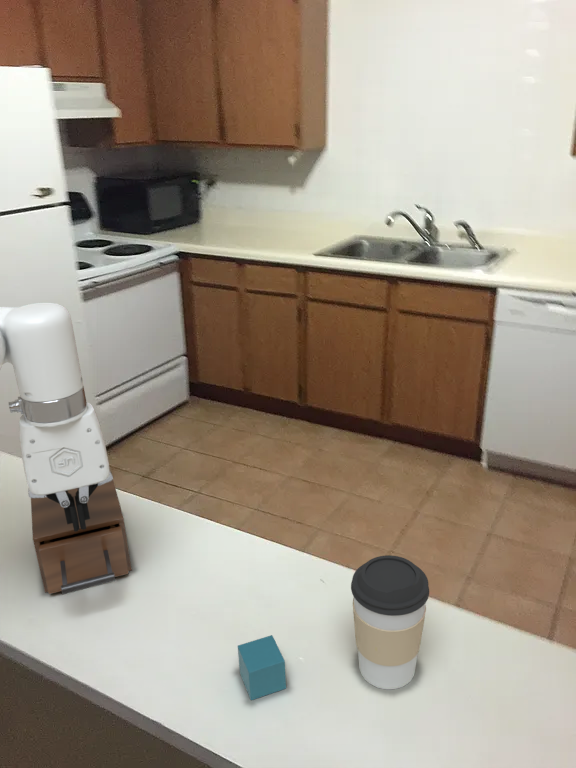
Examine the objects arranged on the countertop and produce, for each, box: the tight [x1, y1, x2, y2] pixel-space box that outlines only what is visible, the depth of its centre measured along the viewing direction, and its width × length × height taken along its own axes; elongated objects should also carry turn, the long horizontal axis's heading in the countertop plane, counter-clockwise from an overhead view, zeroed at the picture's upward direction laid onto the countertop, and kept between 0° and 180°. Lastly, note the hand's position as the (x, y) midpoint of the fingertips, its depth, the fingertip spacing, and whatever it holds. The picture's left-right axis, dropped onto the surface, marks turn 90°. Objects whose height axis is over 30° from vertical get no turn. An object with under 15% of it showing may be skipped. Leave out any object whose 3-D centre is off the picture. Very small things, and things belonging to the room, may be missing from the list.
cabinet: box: [30, 478, 133, 593], centre depth 104 cm, size 16×13×10 cm
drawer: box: [39, 525, 130, 595], centre depth 100 cm, size 21×11×8 cm, turn 21°
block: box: [237, 634, 287, 701], centre depth 81 cm, size 4×4×4 cm
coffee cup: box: [350, 554, 430, 690], centre depth 80 cm, size 9×9×15 cm
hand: (79, 524), depth 90 cm, fingers closed
